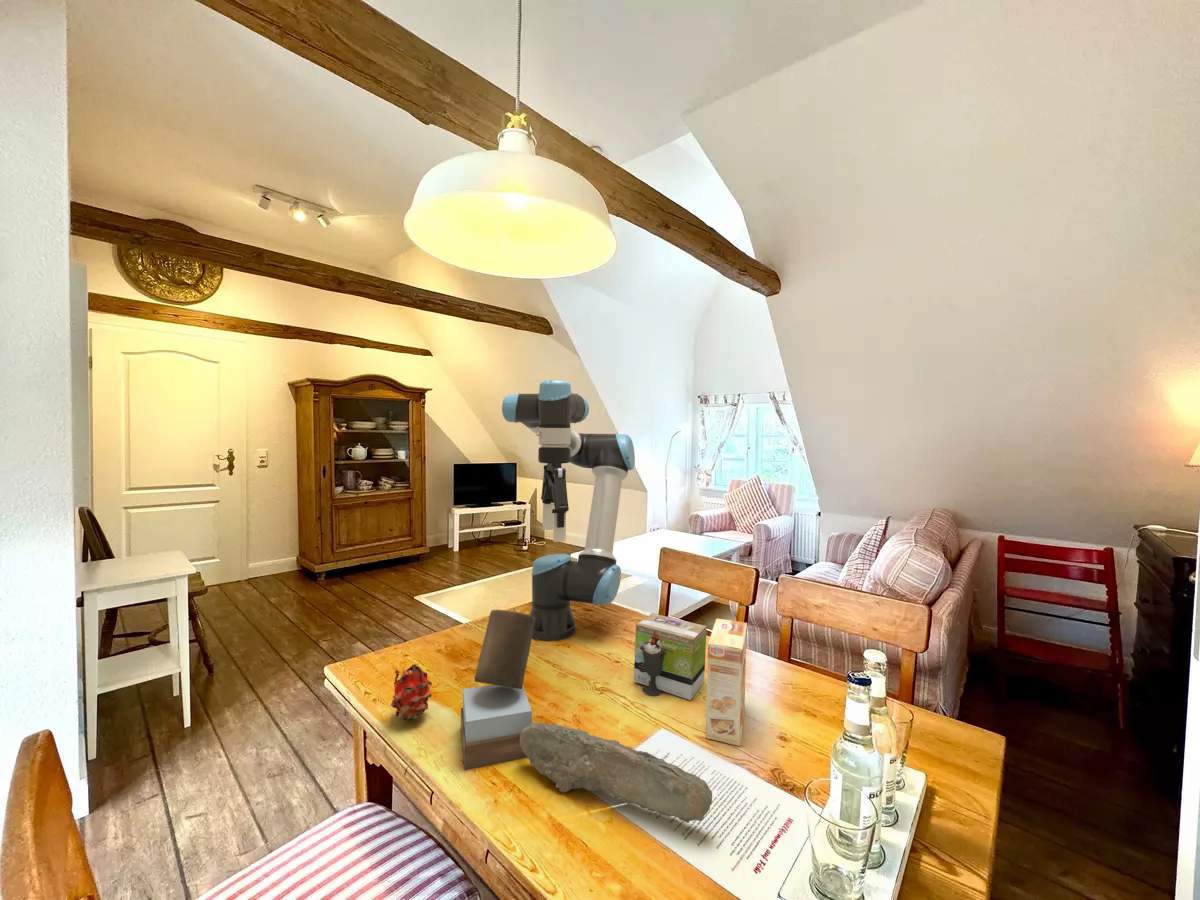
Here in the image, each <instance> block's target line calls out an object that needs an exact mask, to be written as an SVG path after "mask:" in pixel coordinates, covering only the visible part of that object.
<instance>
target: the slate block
mask: <svg viewBox="0 0 1200 900" xmlns="http://www.w3.org/2000/svg"><path fill="white" fill-rule="evenodd" d="M462 708H463V715H464V726H465V737H466V743H471V742H477V741H482V740H488V739H494V738H499V737H505V736H510V735H516V734H521V732H522V731H523V729H524V728H525V726H527V725H529V724H530V723H532V722H533V711H532V707H531V704H530V702H529V699H528V695H527V692H526V690H525V687H524V685H523V686H522V689H517V688H511V687H504V686H498V685H492V684H486V685H481V686H472V687H468V688H467V687H466V688H463V689H462Z"/></svg>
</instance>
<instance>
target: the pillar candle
mask: <svg viewBox="0 0 1200 900" xmlns="http://www.w3.org/2000/svg"><path fill="white" fill-rule="evenodd" d="M487 622H488V623H487V627H486V630H485V634H484V639H483V642H482V646H481V651H480V654H479V657H478V661H477V666H476V670H475V674H474V675H475V676H474V679H473V681H474V682H475V683H480V684H485V685H498V686H504V687H511V688H517V689H522V686H524V681H525V677H526V676H525V675H526V671H527V665H528V660H529V656H530V650H531V649H530V648H531V643H532V639H533V638H532V635H533V629H534V624H535V618H534V617H533V616H530V614H527V613H521V612H520V611H519V612H518V611H516V607H514V608H513V611H512V610H507V609H491V611H490V613H489V618H488V621H487Z"/></svg>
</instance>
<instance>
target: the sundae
mask: <svg viewBox="0 0 1200 900" xmlns="http://www.w3.org/2000/svg"><path fill="white" fill-rule="evenodd" d="M655 633H656V631H655V632H654V634H655ZM654 634H653V635H654ZM640 649H641V650H642V651H643V656H644V666H645V671H646V673H647V674H648V675H649V676H650V677H651V681H650V685H649V686H647V685H644V686H643V687H642V689H641V690H642V692H643V694H645V695H647V696H650V697H658V696H661V695H662V694H663V693H664V691H662V690H659V689H658V688H657V687H656V682H655V681H656V677H657V676H658V675H660V674H661V671H662V666H663V659H664V655H665V654H667V653H666V652H664V651H663V648H662V645H661V642H660V640H659V636H657V635H655V636H654V637H653V636H652V638H650V639H649V641H648V643H647V644H645V646H643V647H642V646H641V647H640Z"/></svg>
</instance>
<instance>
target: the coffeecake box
mask: <svg viewBox="0 0 1200 900" xmlns="http://www.w3.org/2000/svg"><path fill="white" fill-rule="evenodd" d="M747 629H748V623H747V622H744V621H740V620H739V621H738V620H729V619H722V618H716V619H715V621H714V623H713V628H712V631H711V634H710V636H709V640H708V643H707V647H708V648H707V674H706V675H707V679H706V680H707V683H706V684H707V685H706V686H707V688H706V719H705V721H706V725H705V739H708V740H713V741H718V742H721V743H726V744H729V745H733V746H738V747H740V746H741V744H742V738H743V736H742V735H743V729H744V715H745V703H746V702H745V701H746V700H745V699H746V697H745V696H746V668H747V667H746V662H747V661H746V659H747V631H748V630H747Z"/></svg>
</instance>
